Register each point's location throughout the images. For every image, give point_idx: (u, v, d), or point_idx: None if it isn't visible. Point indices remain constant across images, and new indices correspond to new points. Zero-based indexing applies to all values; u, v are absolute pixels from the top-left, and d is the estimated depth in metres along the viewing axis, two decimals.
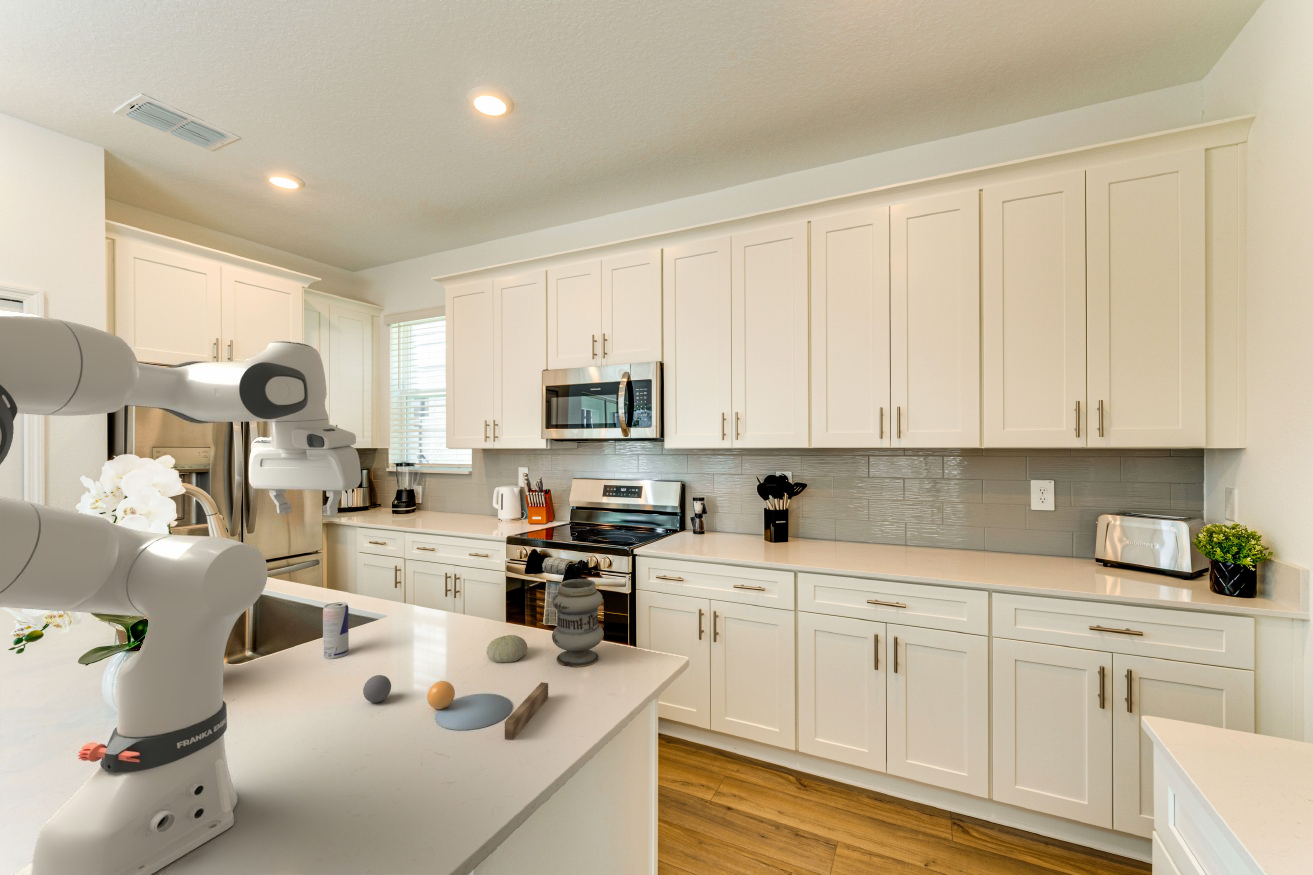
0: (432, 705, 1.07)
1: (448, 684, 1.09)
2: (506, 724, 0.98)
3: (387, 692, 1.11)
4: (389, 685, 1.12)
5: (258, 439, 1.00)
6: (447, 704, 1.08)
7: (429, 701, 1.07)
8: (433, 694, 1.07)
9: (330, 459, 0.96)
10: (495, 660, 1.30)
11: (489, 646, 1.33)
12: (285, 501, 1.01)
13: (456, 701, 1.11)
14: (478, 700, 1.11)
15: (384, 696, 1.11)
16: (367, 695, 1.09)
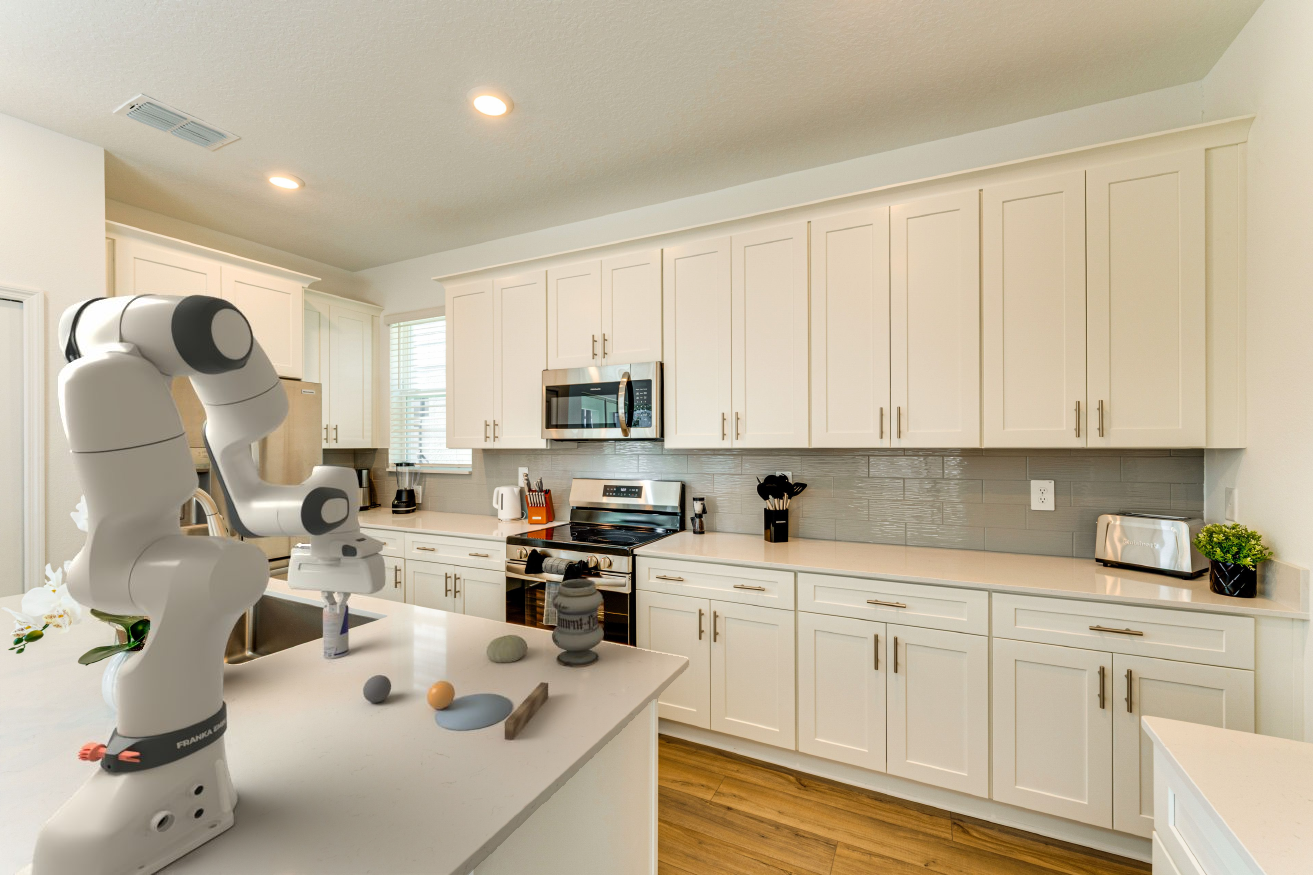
0: (432, 705, 1.07)
1: (448, 684, 1.09)
2: (506, 724, 0.98)
3: (387, 692, 1.11)
4: (389, 685, 1.12)
5: (298, 545, 1.15)
6: (447, 704, 1.08)
7: (429, 701, 1.07)
8: (433, 694, 1.07)
9: (360, 566, 1.10)
10: (495, 660, 1.30)
11: (489, 646, 1.33)
12: (334, 601, 1.15)
13: (456, 701, 1.11)
14: (478, 700, 1.11)
15: (384, 696, 1.11)
16: (367, 695, 1.09)
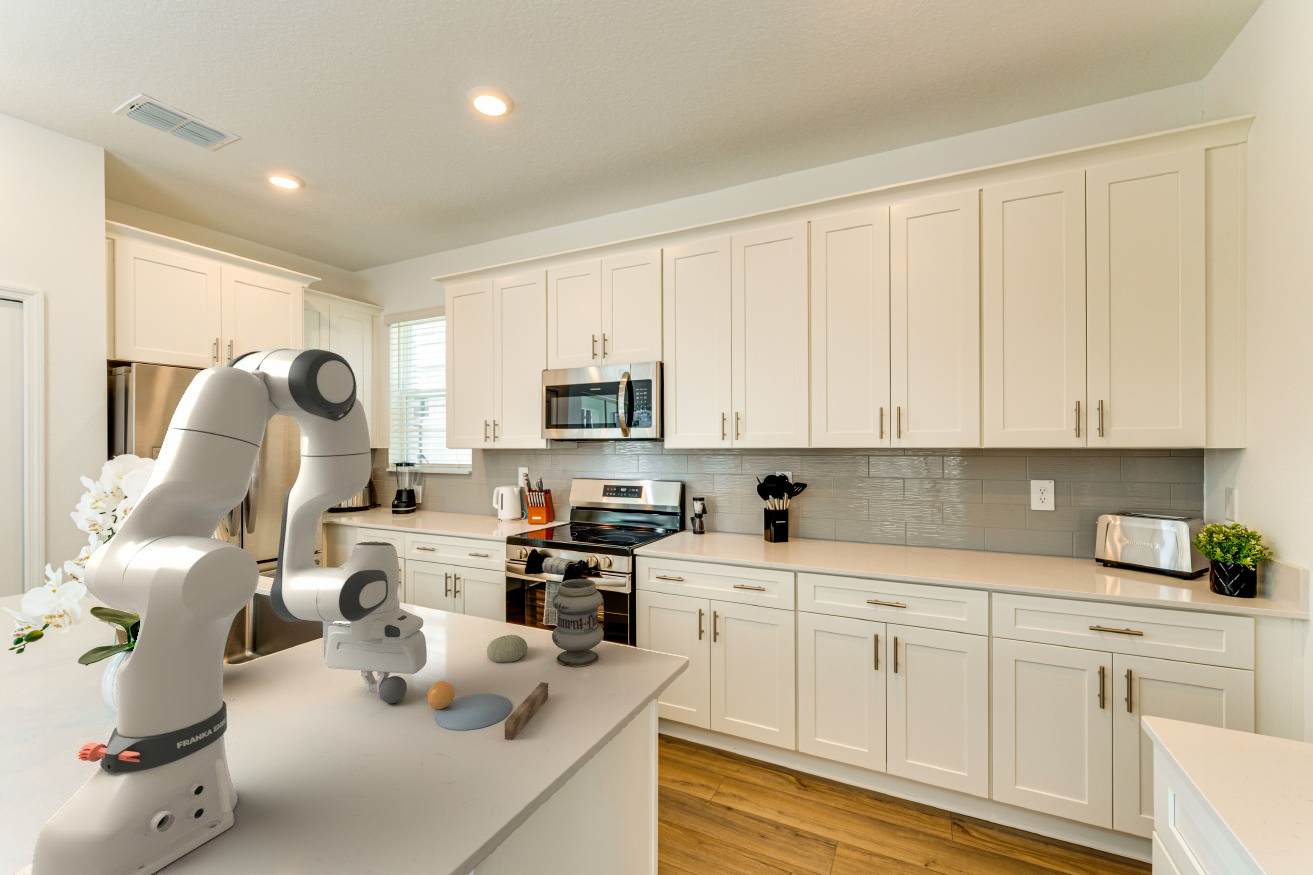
0: (432, 705, 1.07)
1: (448, 684, 1.09)
2: (506, 724, 0.98)
3: (395, 702, 1.11)
4: None
5: (335, 623, 1.13)
6: (447, 704, 1.08)
7: (429, 701, 1.07)
8: (433, 694, 1.07)
9: (403, 646, 1.09)
10: (495, 660, 1.30)
11: (489, 646, 1.33)
12: (373, 679, 1.13)
13: (456, 701, 1.11)
14: (478, 700, 1.11)
15: None
16: (383, 693, 1.09)
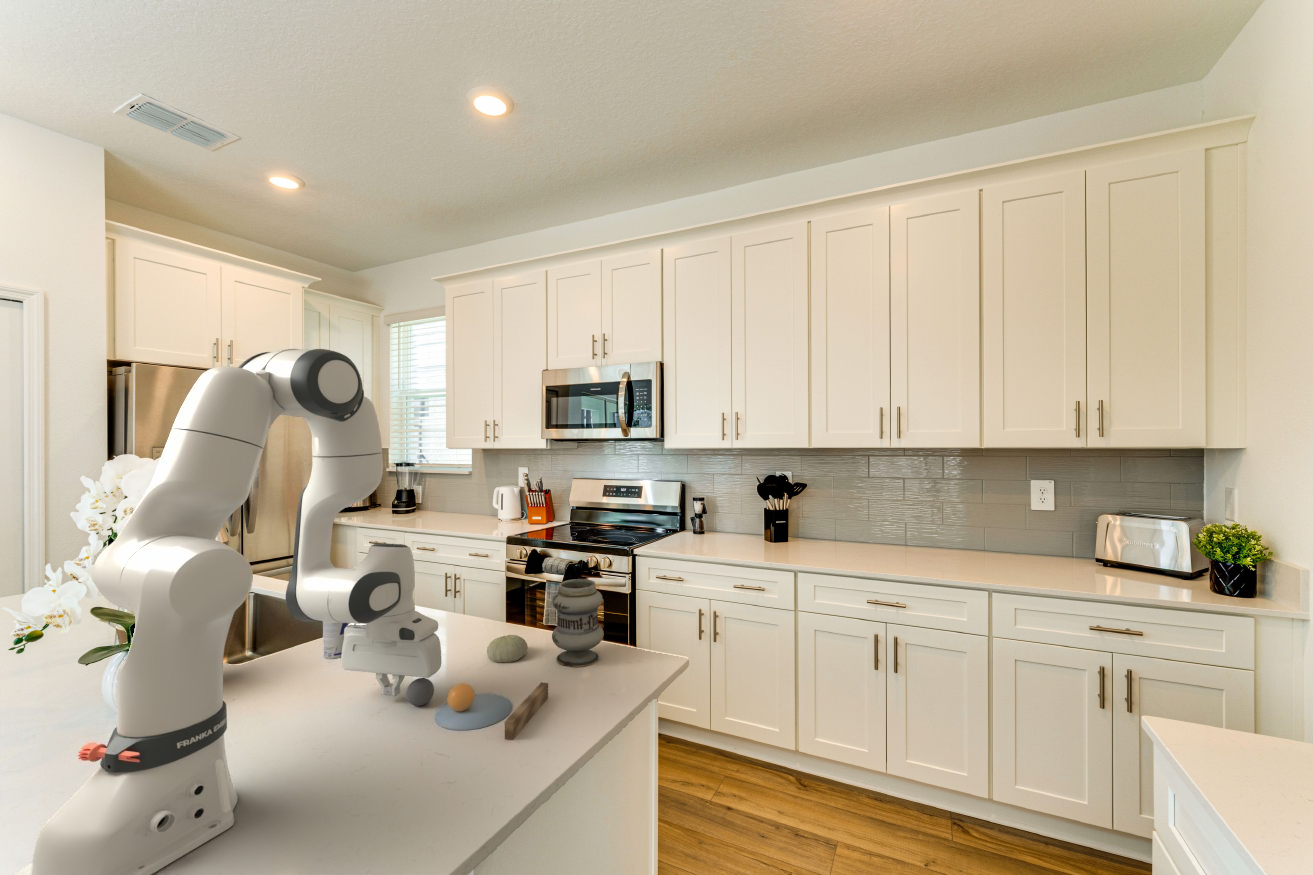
0: (449, 698, 1.06)
1: (470, 705, 1.08)
2: (506, 724, 0.98)
3: (408, 686, 1.11)
4: None
5: (351, 624, 1.12)
6: None
7: (453, 696, 1.06)
8: (459, 702, 1.06)
9: (417, 649, 1.08)
10: (495, 660, 1.30)
11: (489, 646, 1.33)
12: (388, 682, 1.12)
13: None
14: (478, 700, 1.11)
15: (409, 685, 1.10)
16: (415, 696, 1.08)
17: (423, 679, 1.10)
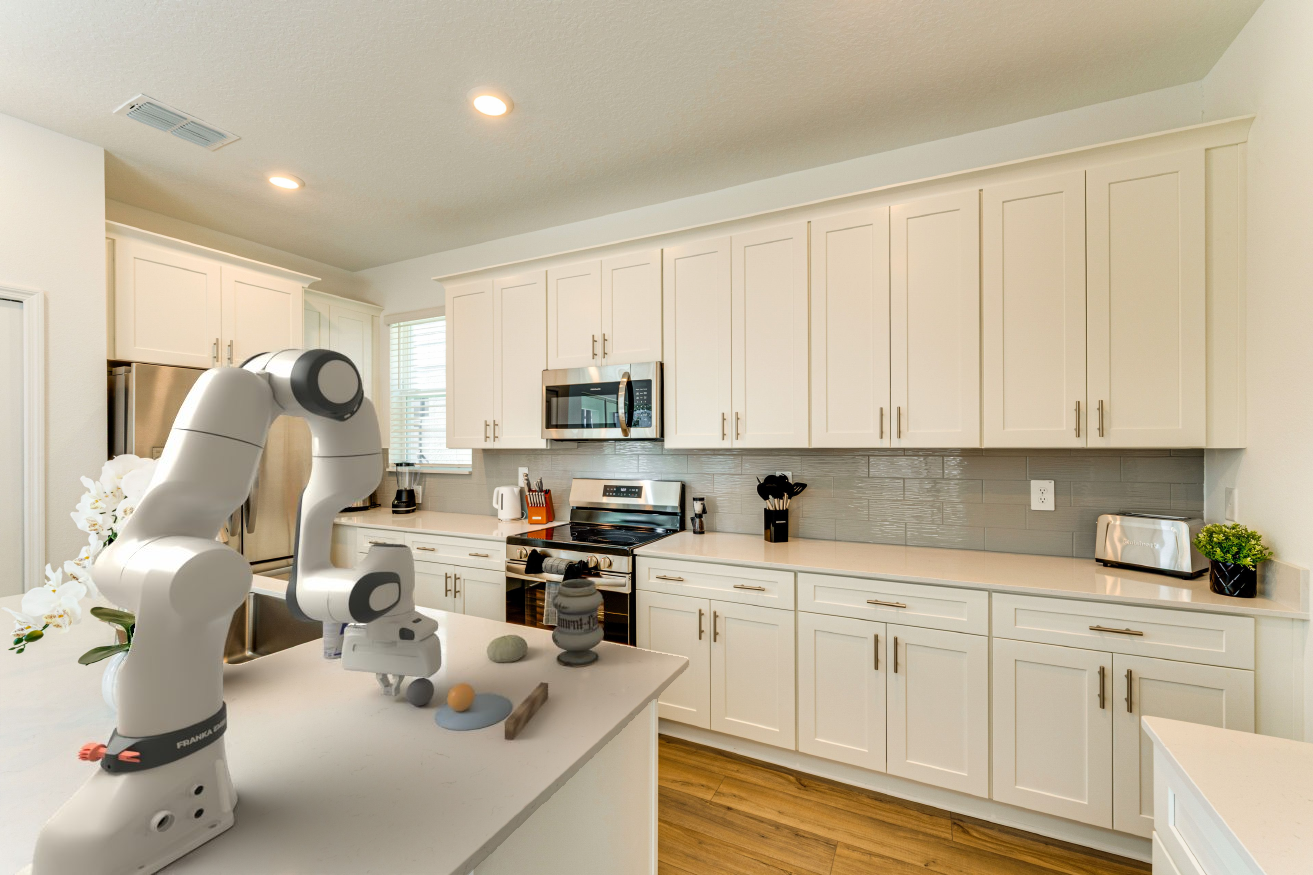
0: (449, 698, 1.06)
1: (470, 705, 1.08)
2: (506, 724, 0.98)
3: (408, 686, 1.11)
4: None
5: (351, 624, 1.12)
6: None
7: (453, 696, 1.06)
8: (459, 702, 1.06)
9: (417, 649, 1.08)
10: (495, 660, 1.30)
11: (489, 646, 1.33)
12: (388, 682, 1.12)
13: None
14: (478, 700, 1.11)
15: (409, 685, 1.10)
16: (415, 696, 1.08)
17: (423, 679, 1.10)
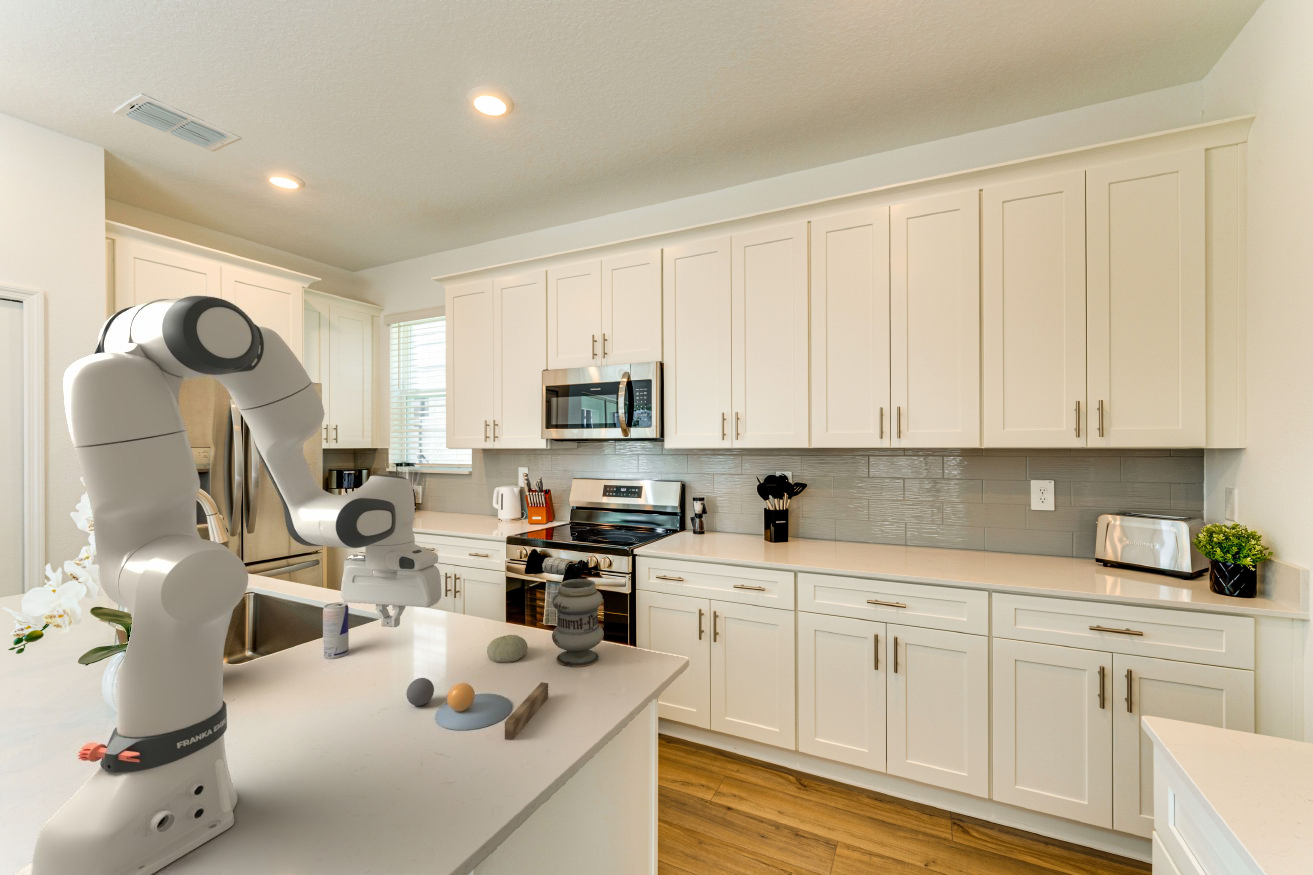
0: (449, 698, 1.06)
1: (470, 705, 1.08)
2: (506, 724, 0.98)
3: (408, 686, 1.11)
4: None
5: (351, 557, 1.12)
6: None
7: (453, 696, 1.06)
8: (459, 702, 1.06)
9: (417, 579, 1.08)
10: (495, 660, 1.30)
11: (489, 646, 1.33)
12: (388, 614, 1.12)
13: None
14: (478, 700, 1.11)
15: (409, 685, 1.10)
16: (415, 696, 1.08)
17: (423, 679, 1.10)
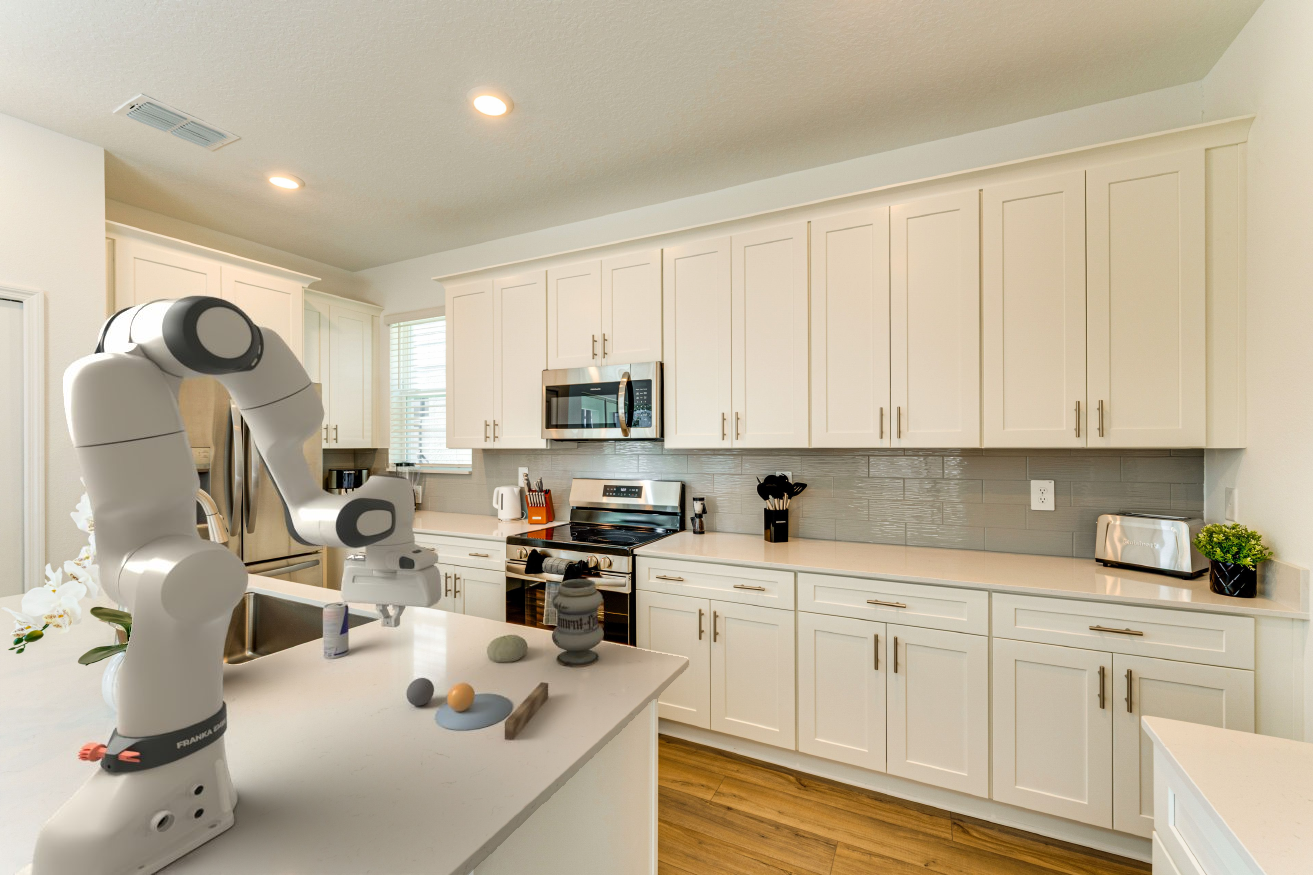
0: (449, 698, 1.06)
1: (470, 705, 1.08)
2: (506, 724, 0.98)
3: (408, 686, 1.11)
4: None
5: (351, 557, 1.12)
6: None
7: (453, 696, 1.06)
8: (459, 702, 1.06)
9: (417, 579, 1.08)
10: (495, 660, 1.30)
11: (489, 646, 1.33)
12: (388, 614, 1.12)
13: None
14: (478, 700, 1.11)
15: (409, 685, 1.10)
16: (415, 696, 1.08)
17: (423, 679, 1.10)
